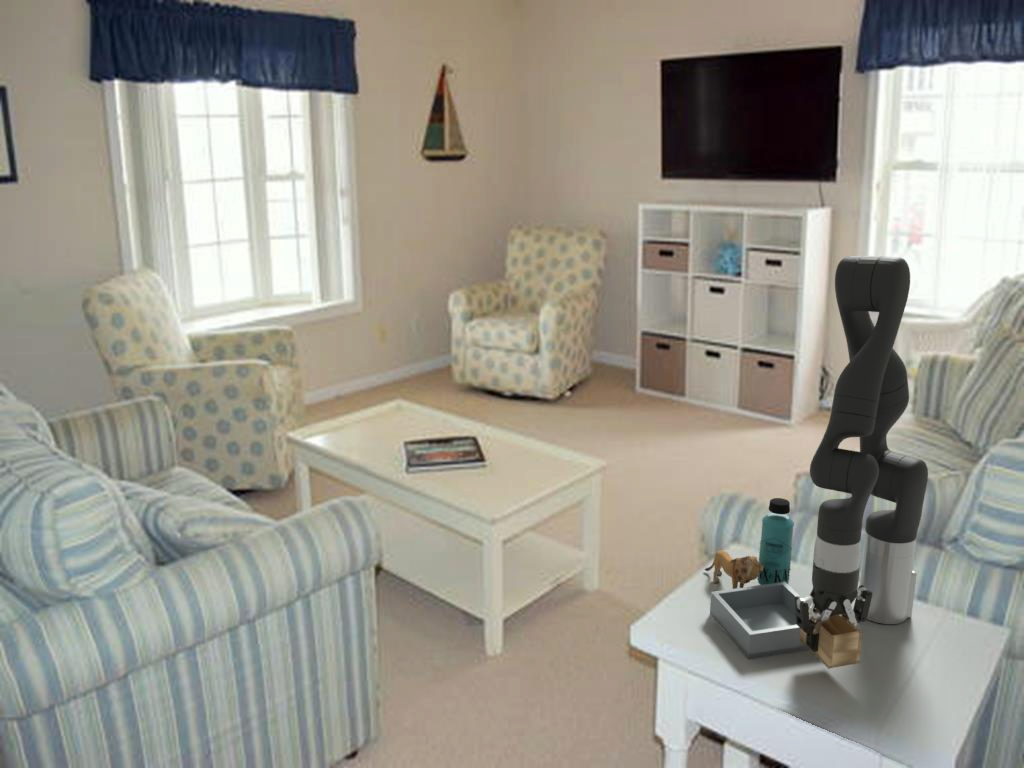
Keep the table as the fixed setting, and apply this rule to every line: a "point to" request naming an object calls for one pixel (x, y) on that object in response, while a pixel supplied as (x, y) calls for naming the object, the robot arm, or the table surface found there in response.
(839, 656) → the small oak crate
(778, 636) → the grey square tray
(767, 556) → the beverage bottle
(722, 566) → the lion figurine
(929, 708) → the table surface
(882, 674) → the table surface
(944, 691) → the table surface
